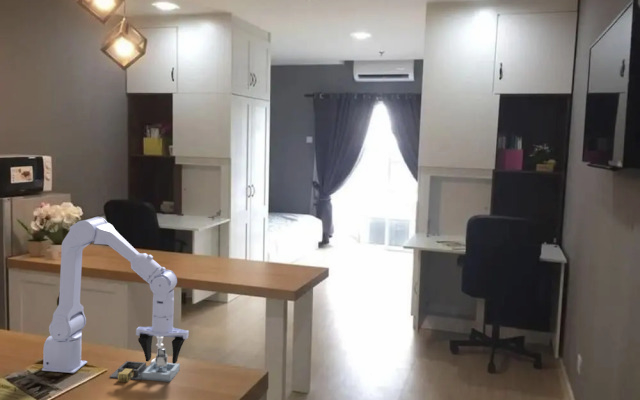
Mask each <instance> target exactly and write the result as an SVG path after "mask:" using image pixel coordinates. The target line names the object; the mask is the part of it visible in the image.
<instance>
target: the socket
mask: <svg viewBox="0 0 640 400" xmlns="http://www.w3.org/2000/svg"><path fill="white" fill-rule="evenodd" d="M148 366H149V365H147V362H146V361H145V362H143V361H131V360H126V361H125V362H124V363H123V364H122V365H120V366H119V367H118V368H117V369H116V370H114V372H113V373H112V374H110V375H109V378H111V379H118V373H119V372H122V371H123V370H124V369H125V368H127V369H133V376H132V377H131V378H130V380H131V381H132V380H133V381H143V380H142V372H143V371H144V370H145V369H146V368H147V367H148Z"/></svg>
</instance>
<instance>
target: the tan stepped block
mask: <svg viewBox="0 0 640 400" xmlns="http://www.w3.org/2000/svg"><path fill="white" fill-rule="evenodd" d="M133 370H134V369H127V368H125V369H124V370H123V371H122V372H119V373H118V378H117V381H118V382H124V383H128V382H130V380H131V377H132V376H133Z"/></svg>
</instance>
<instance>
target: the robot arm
mask: <svg viewBox="0 0 640 400" xmlns="http://www.w3.org/2000/svg"><path fill="white" fill-rule="evenodd" d="M92 243H93V244H94V245H107V246H109V247H110V248H112V249H113V250H114V251H115V252H116V253H118V254H119V255H120V256H121V257H123V258H124V259H125V260H126V261H128V262H130V269H131V270H133V272H135V273H136V274H137V275H138V276H139V277H140V278H141V279H142V280H143V281H145V282H146V283H147V284H149V289H150V291H151V292H152V315H151V316H152V319H151V320H152V321H151V326H138V327H137V328H136V329H135V336H137V337H138V336H139V337H138V339H137V340H138V343H139V344H140V346H141V348H142V351H143V353H144V357H145V358H144V359H145V362H149V361H151V360H152V343H153V337H156V338H157V337H165V338H173V339H172V340H171V347H172V362H171V363H173V364H175V363H177V362H178V359H179V356H180V355H179V354H180V351H181V349H182V346H183V345H184V343H185V341H186V340H188V339H189V335H190V333H189V332H190V330H188V329H187V330H186V329H182V328H176V327H174V314H175V311H174V308H175V287H176V286H177V284H178V278H177V275H176V273H174V271H173V270H170V269H166V268H167V267H165V266H161V265H160V264H159V263H158V262H157V261H156V260H154V259H153V258H154V256H153V255H152V254H151V253H150V254H148V253H146V252H143V253H142V252H141V253H140V252H139V251H138V250H137V249H136V248H134V246H132V244H131V243H129V241H127V239H125V238H124V237H123V235H121V234H120V233H119V231H118V230H116V229H115V227H114V225H113V224H111V223H110V222H108V221H107V220H106V219H105V218H104V217H101V216H95V217H92V218H89V219H84V220H78V221H77V222H76V223H74V224H72V225H71V226H70V227H69V231H68V233H67V234H66V236H65V237H64V239H63V240H62V242H61V253H60V273H59V274H60V277H59V297H58V305H57V307H56V308H55V310H54V311H53V314H52V320H51V322H50V323H49V326H48V332H49V334H50V335H49V336H48V337H47V338H46V340H45V341H44V344H43V349H42V350H43V352H42V353H43V354H42V355H43V359H42V361H43V363H42V365H43V367H42V368H41V371H44V372H55V373H57V372H58V373H69V374H75V373H76V372H77V371H79V369H81V368H82V367H84V366H85V365H86V364H87V363H88V361H87V360H82V338H83V337H82V335H83V334H82V333H83V331H82V330H83V329H84V328H85V326H86V324H87V317H86V315H85V312H84V309H85V308H84V305H83V304H81V288H82V287H81V286H82V269H83V268H82V266H83V251H84V249H85V248H86V247H87V246H89V245H90V244H92Z"/></svg>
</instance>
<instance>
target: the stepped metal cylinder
mask: <svg viewBox="0 0 640 400" xmlns="http://www.w3.org/2000/svg"><path fill="white" fill-rule="evenodd" d="M157 351H158V355H157V354H156V355H155V358H156V372H160V373H167V363H169V362H168V361H169V360H168V357H169V354H167V348H166V347H161V348H158V347H157Z"/></svg>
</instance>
